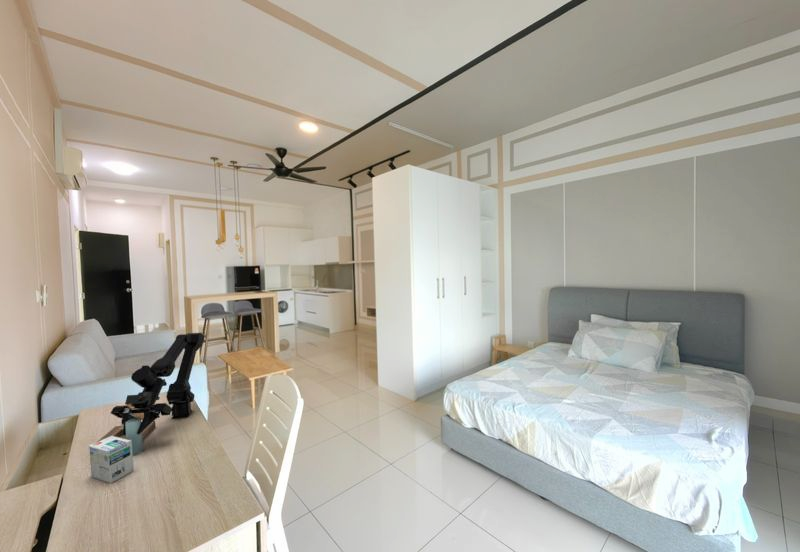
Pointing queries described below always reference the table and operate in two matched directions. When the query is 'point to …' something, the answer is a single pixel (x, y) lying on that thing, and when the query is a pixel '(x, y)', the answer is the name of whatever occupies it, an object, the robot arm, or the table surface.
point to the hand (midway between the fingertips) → (131, 434)
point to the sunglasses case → (137, 415)
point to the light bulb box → (111, 458)
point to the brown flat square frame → (118, 432)
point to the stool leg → (134, 435)
